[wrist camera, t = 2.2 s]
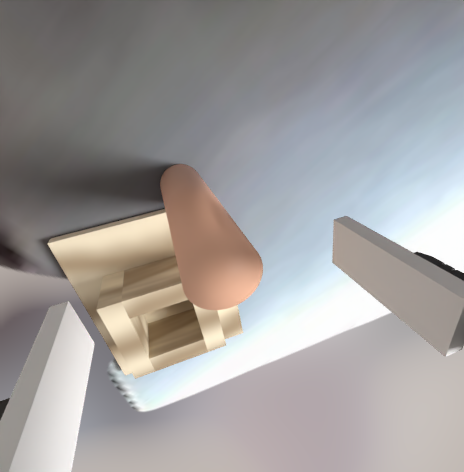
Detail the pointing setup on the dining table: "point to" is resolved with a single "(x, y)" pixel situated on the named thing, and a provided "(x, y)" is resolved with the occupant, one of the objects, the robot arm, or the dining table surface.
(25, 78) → the dining table surface
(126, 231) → the socket block
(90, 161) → the dining table surface
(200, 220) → the dowel
